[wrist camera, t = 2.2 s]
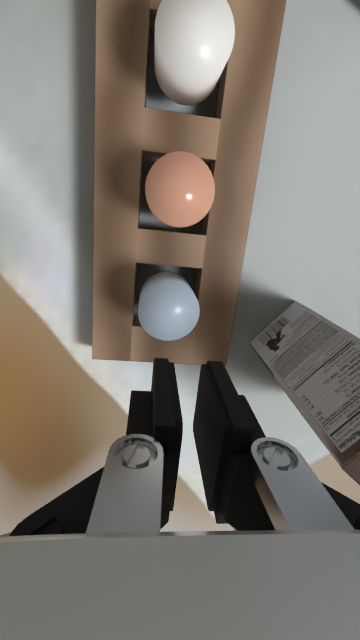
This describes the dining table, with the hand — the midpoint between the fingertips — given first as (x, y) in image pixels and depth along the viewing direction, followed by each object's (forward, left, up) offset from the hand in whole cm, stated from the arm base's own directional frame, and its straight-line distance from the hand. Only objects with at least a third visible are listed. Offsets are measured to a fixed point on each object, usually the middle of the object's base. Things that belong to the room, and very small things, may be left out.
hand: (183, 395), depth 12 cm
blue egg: (0, 0, -15) cm, 15 cm away
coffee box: (-14, +5, -17) cm, 23 cm away
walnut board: (0, -8, -17) cm, 19 cm away
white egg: (0, -16, -15) cm, 22 cm away
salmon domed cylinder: (0, -8, -15) cm, 17 cm away
